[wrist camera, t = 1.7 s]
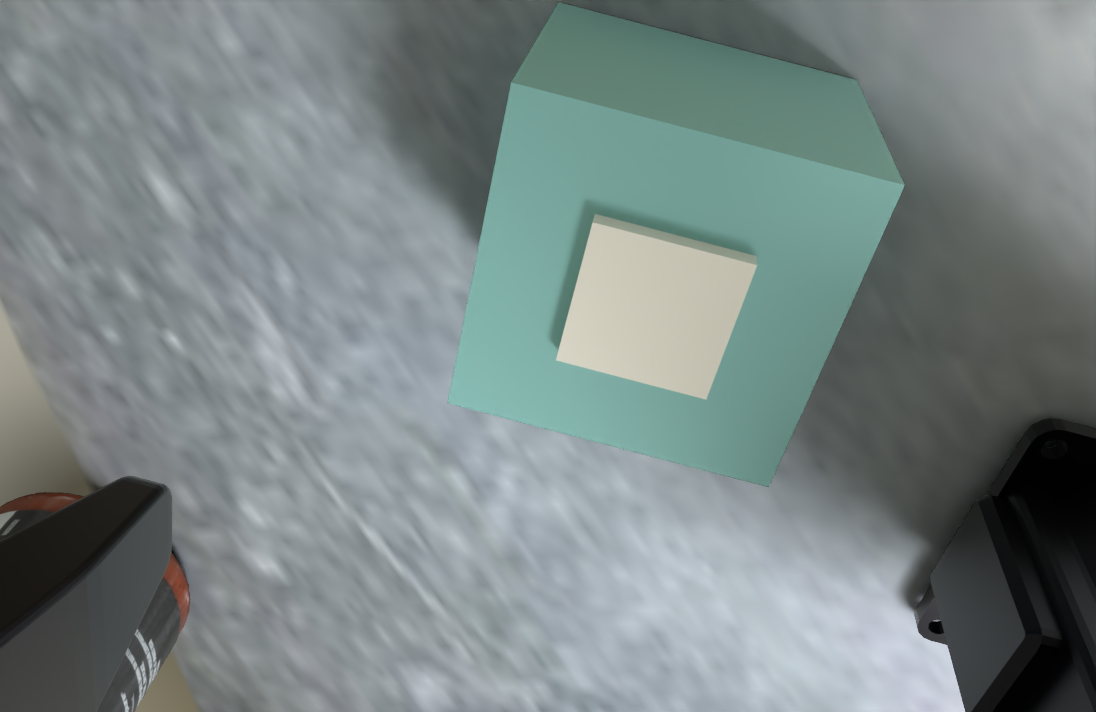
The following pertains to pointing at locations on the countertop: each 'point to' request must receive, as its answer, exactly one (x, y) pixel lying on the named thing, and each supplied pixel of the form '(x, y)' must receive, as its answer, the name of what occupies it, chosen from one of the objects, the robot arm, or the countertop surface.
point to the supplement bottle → (154, 627)
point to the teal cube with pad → (669, 243)
